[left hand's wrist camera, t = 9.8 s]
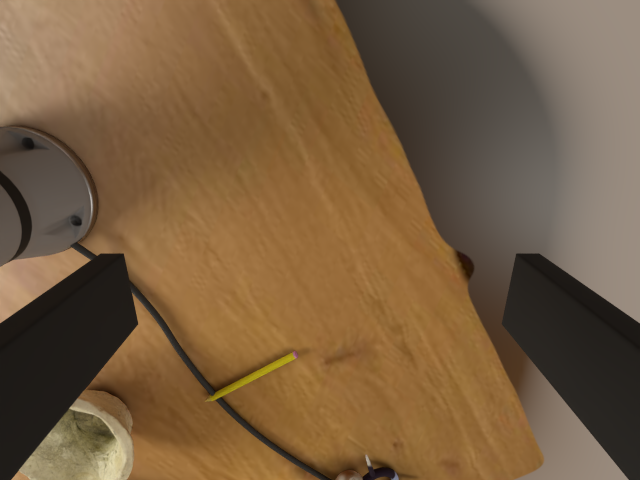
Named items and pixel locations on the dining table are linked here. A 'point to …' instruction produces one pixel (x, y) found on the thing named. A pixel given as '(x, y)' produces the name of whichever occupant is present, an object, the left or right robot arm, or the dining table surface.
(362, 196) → the dining table surface
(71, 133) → the dining table surface
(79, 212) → the left robot arm
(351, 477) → the toy
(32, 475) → the bowl
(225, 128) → the dining table surface
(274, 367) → the pencil
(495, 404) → the dining table surface
